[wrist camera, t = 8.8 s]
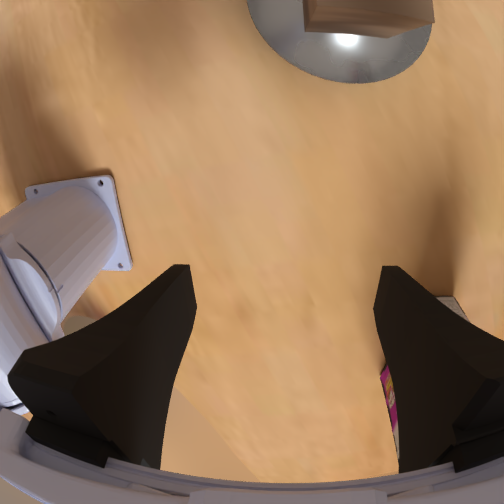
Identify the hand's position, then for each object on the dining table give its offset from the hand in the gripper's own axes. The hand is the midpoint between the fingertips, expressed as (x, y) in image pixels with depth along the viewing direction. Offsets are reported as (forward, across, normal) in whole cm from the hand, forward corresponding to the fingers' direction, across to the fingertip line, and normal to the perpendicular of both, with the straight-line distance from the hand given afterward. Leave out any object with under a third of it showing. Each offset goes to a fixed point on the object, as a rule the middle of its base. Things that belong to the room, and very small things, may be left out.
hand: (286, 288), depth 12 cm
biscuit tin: (+11, -4, -12) cm, 17 cm away
